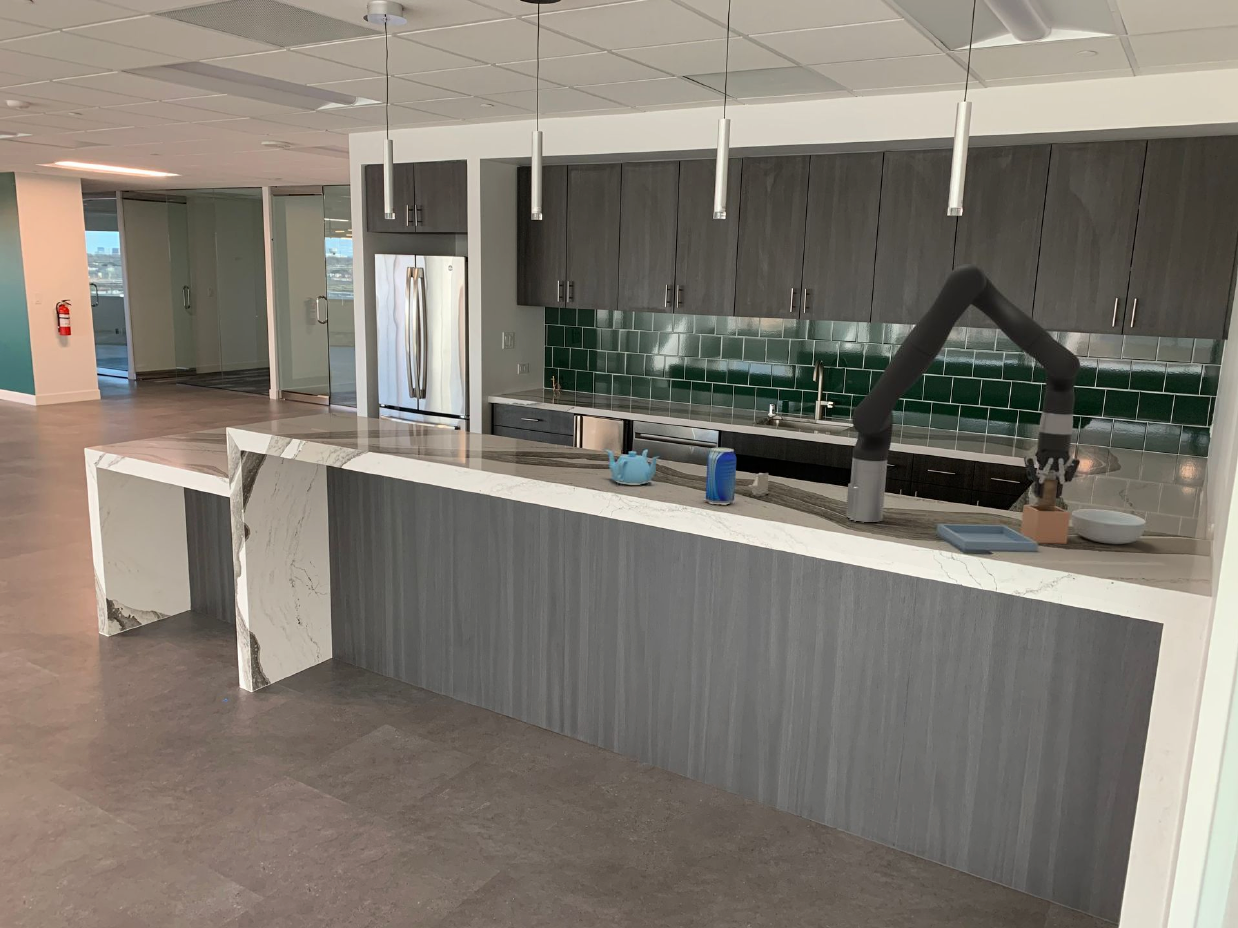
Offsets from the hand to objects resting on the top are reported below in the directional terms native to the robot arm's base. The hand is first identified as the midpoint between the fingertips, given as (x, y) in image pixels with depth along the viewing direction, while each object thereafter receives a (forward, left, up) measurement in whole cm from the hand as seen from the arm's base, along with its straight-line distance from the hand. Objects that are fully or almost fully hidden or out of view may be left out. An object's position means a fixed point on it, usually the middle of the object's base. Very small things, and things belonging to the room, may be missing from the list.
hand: (1047, 497), depth 237 cm
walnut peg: (0, 0, -8) cm, 8 cm away
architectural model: (-64, +51, -13) cm, 83 cm away
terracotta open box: (0, 0, -12) cm, 12 cm away
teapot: (-102, +68, -12) cm, 123 cm away
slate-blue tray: (-17, -4, -12) cm, 21 cm away
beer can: (-78, +39, -12) cm, 88 cm away
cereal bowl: (+17, +1, -12) cm, 21 cm away
